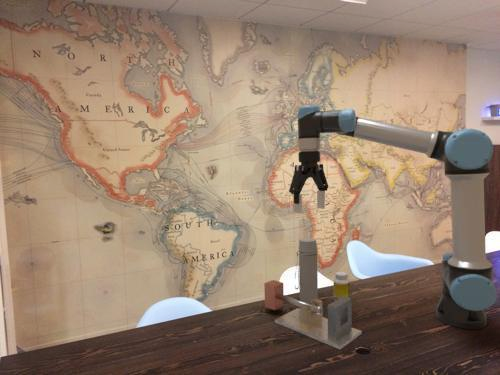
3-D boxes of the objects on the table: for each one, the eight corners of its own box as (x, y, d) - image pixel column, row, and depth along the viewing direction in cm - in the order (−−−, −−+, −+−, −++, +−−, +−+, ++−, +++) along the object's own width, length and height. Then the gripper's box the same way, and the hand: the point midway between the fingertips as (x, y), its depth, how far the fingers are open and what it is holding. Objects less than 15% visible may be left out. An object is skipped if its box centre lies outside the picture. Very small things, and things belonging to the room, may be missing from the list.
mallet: (326, 321, 119) (326, 296, 118) (318, 327, 115) (317, 300, 114) (273, 302, 136) (273, 279, 135) (264, 306, 132) (264, 283, 132)
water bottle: (317, 297, 145) (316, 237, 143) (318, 305, 137) (318, 242, 135) (294, 296, 146) (293, 237, 144) (295, 304, 138) (294, 242, 136)
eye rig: (361, 333, 114) (361, 299, 113) (340, 349, 105) (340, 312, 104) (297, 310, 133) (297, 280, 132) (274, 322, 124) (274, 290, 123)
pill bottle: (351, 303, 138) (351, 275, 137) (335, 303, 138) (335, 276, 137) (347, 297, 144) (347, 270, 143) (332, 297, 144) (332, 271, 144)
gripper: (320, 151, 135) (321, 205, 137) (277, 151, 118) (279, 214, 120) (337, 150, 130) (338, 207, 132) (295, 150, 113) (296, 216, 114)
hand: (310, 210), depth 126 cm, fingers open, 13 cm apart
